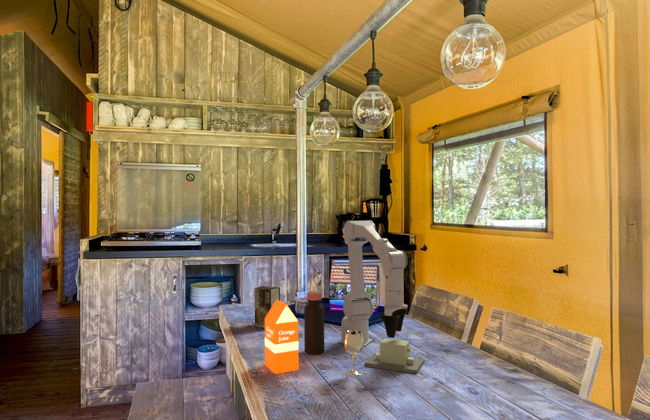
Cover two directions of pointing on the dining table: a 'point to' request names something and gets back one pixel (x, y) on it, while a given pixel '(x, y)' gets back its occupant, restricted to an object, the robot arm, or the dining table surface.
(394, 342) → the cabinet block
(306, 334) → the bottle
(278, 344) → the orange juice
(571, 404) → the dining table surface
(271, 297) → the coffee box
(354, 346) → the wineglass
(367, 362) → the cleat board
